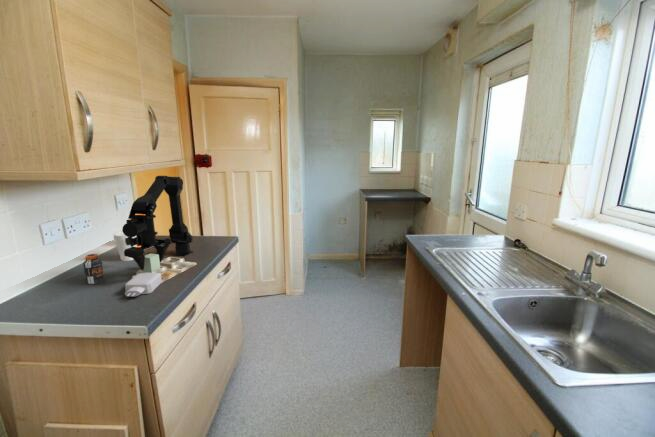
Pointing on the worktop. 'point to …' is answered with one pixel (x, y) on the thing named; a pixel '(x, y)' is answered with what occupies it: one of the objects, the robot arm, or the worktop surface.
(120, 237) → the foam cup
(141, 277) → the charger
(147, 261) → the plug
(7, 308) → the worktop surface
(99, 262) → the pill bottle
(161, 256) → the robot arm
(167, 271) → the socket board
